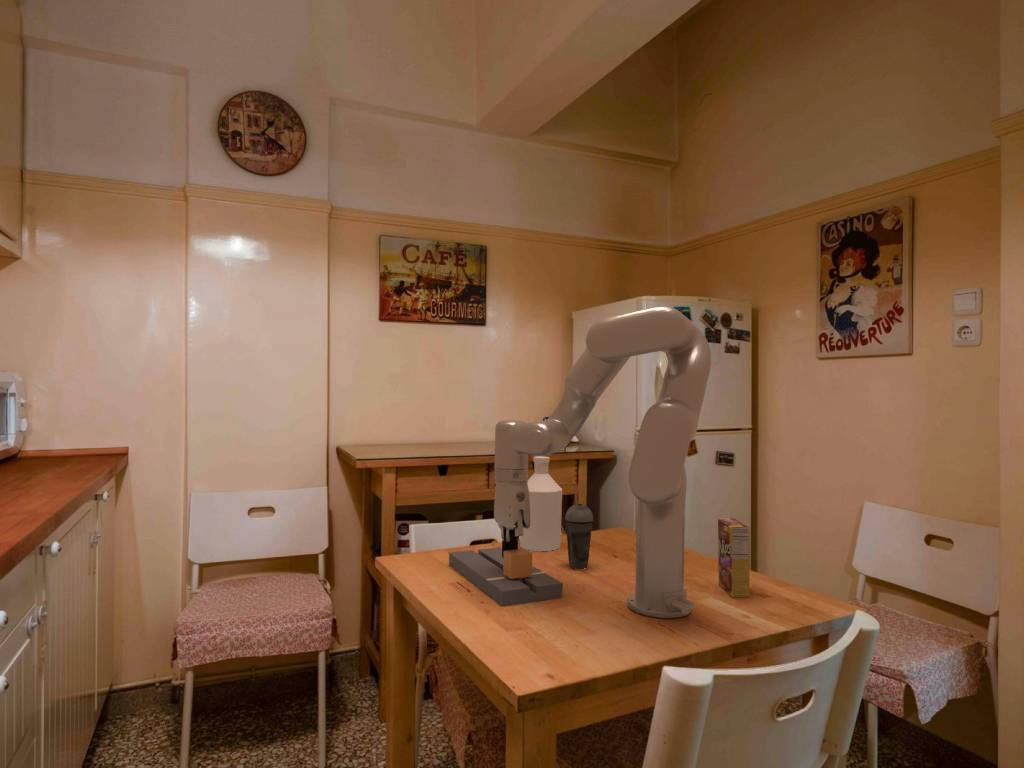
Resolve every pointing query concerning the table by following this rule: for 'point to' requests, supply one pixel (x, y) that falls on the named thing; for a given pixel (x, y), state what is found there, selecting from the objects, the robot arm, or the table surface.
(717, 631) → the table surface
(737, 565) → the candy box
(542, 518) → the bottle
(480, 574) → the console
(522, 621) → the table surface
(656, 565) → the robot arm
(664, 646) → the table surface
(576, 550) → the beverage cup
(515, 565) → the slider tab
